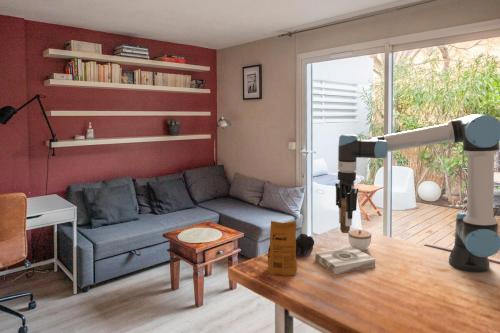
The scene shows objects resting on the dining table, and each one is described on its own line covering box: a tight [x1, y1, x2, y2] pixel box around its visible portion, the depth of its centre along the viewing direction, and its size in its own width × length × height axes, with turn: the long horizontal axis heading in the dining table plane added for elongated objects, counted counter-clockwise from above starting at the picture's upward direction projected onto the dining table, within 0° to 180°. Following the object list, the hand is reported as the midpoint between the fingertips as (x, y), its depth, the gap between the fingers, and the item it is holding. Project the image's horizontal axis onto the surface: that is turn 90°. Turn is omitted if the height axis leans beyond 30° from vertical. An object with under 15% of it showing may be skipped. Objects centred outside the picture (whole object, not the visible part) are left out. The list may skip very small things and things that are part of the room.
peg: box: [339, 197, 351, 234], centre depth 161 cm, size 4×4×15 cm
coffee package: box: [267, 220, 298, 277], centre depth 156 cm, size 10×12×22 cm
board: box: [314, 246, 376, 275], centre depth 164 cm, size 16×20×4 cm
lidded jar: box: [347, 229, 372, 252], centre depth 181 cm, size 11×11×9 cm
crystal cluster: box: [296, 233, 315, 258], centre depth 177 cm, size 13×14×10 cm
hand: (345, 224), depth 162 cm, fingers closed on peg, 4 cm apart
